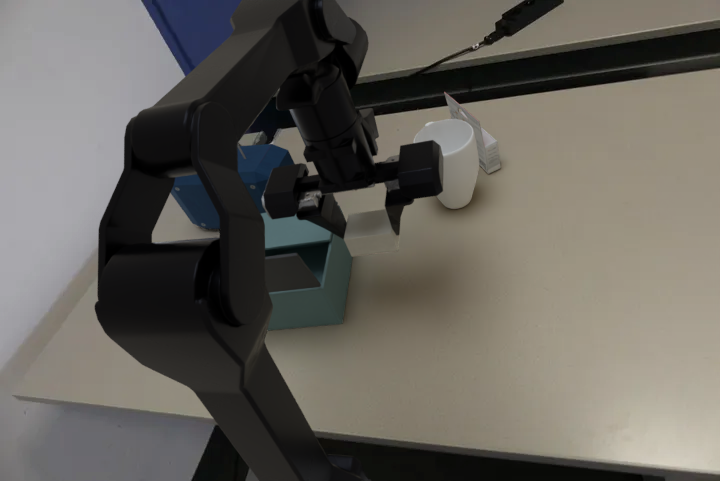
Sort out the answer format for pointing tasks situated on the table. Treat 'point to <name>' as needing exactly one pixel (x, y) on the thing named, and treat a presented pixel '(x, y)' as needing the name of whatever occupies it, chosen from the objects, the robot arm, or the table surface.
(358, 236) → the gray rectangular box
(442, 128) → the mug
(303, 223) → the teal storage bin
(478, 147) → the ink cartridge box
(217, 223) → the radio
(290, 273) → the hatch
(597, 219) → the table surface
